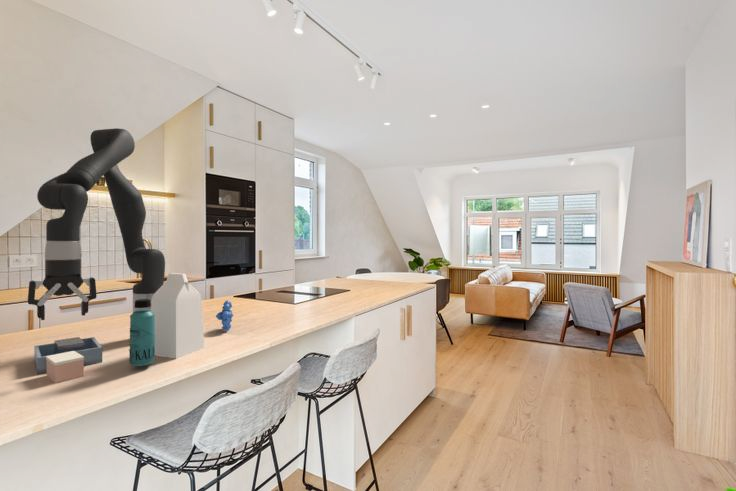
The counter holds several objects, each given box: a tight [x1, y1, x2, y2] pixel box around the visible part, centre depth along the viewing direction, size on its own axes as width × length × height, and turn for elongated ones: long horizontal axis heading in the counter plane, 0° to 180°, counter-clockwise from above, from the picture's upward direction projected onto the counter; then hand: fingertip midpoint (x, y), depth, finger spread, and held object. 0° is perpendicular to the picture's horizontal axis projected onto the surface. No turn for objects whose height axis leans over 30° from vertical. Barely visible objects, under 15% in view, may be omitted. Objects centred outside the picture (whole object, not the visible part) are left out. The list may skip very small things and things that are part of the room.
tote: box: [33, 336, 103, 375], centre depth 112 cm, size 15×15×4 cm
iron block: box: [53, 336, 84, 355], centre depth 112 cm, size 6×8×5 cm
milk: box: [151, 272, 205, 360], centre depth 122 cm, size 12×12×26 cm
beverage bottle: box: [128, 299, 156, 367], centre depth 107 cm, size 6×7×20 cm
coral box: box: [46, 351, 85, 384], centre depth 101 cm, size 6×8×6 cm
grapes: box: [215, 299, 234, 332], centre depth 150 cm, size 12×7×12 cm, turn 15°
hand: (63, 317), depth 100 cm, fingers open, 8 cm apart
